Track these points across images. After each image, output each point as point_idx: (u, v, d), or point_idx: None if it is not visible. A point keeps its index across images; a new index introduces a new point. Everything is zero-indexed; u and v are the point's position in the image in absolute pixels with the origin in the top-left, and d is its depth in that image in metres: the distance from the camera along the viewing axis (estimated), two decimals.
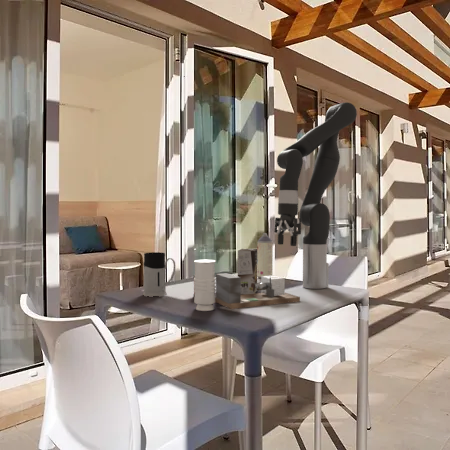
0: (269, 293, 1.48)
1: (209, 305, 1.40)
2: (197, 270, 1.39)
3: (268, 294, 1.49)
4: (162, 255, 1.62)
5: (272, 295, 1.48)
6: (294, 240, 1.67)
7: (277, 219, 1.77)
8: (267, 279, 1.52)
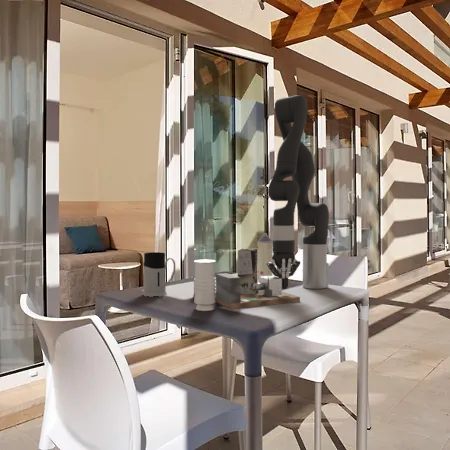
0: (267, 293, 1.48)
1: (209, 305, 1.40)
2: (197, 270, 1.39)
3: (266, 294, 1.49)
4: (162, 255, 1.62)
5: (270, 295, 1.47)
6: None
7: None
8: (264, 279, 1.52)
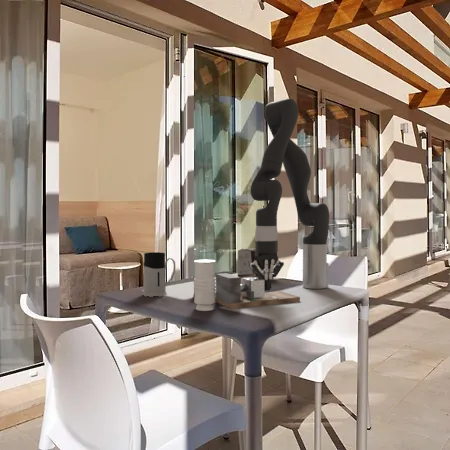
0: (249, 295, 1.45)
1: (209, 305, 1.40)
2: (197, 270, 1.39)
3: (248, 296, 1.46)
4: (162, 255, 1.62)
5: (252, 297, 1.45)
6: None
7: (254, 265, 1.50)
8: (246, 281, 1.49)
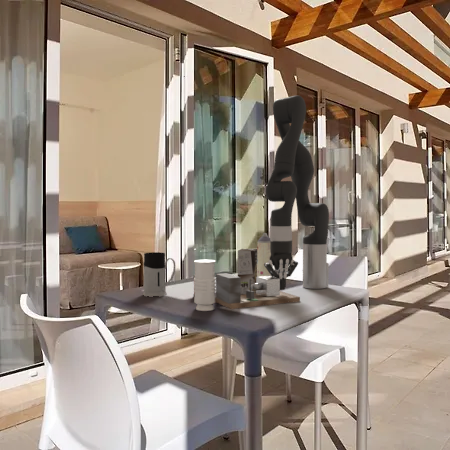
0: (249, 295, 1.45)
1: (209, 305, 1.40)
2: (197, 270, 1.39)
3: (248, 296, 1.46)
4: (162, 255, 1.62)
5: (252, 297, 1.45)
6: None
7: (269, 264, 1.53)
8: (262, 279, 1.52)
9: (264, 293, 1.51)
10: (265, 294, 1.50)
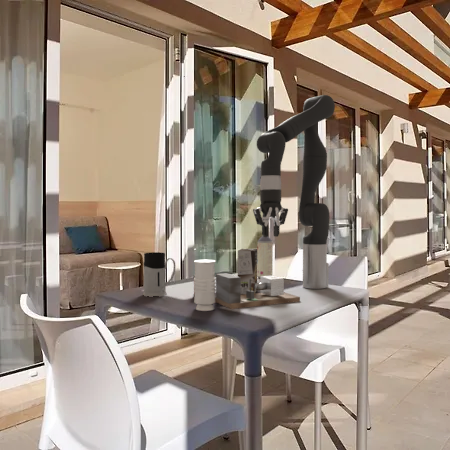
0: (249, 295, 1.45)
1: (209, 305, 1.40)
2: (197, 270, 1.39)
3: (248, 296, 1.46)
4: (162, 255, 1.62)
5: (252, 297, 1.45)
6: None
7: (258, 210, 1.59)
8: (266, 279, 1.52)
9: (268, 293, 1.51)
10: (269, 294, 1.51)
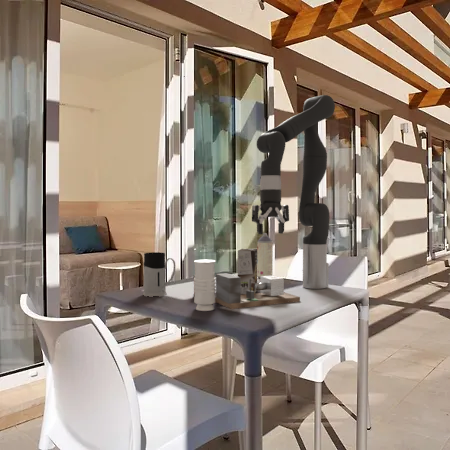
0: (249, 295, 1.45)
1: (209, 305, 1.40)
2: (197, 270, 1.39)
3: (248, 296, 1.46)
4: (162, 255, 1.62)
5: (252, 297, 1.45)
6: None
7: None
8: (266, 279, 1.52)
9: (268, 293, 1.51)
10: (269, 294, 1.51)
